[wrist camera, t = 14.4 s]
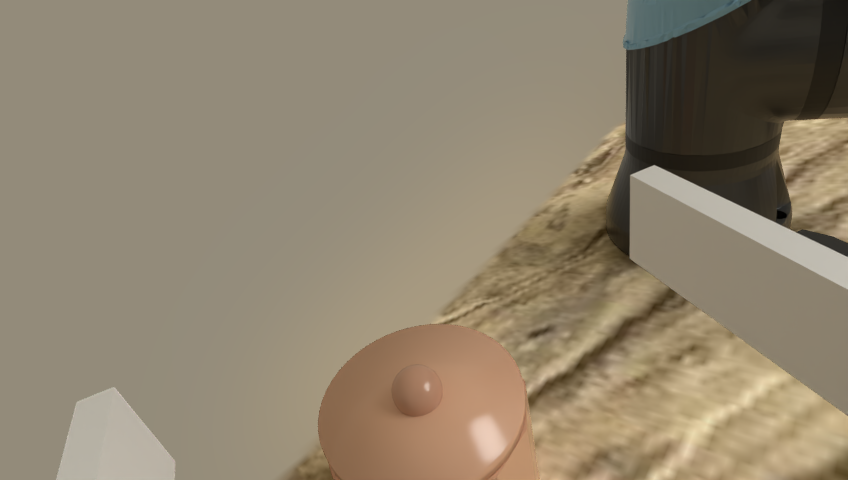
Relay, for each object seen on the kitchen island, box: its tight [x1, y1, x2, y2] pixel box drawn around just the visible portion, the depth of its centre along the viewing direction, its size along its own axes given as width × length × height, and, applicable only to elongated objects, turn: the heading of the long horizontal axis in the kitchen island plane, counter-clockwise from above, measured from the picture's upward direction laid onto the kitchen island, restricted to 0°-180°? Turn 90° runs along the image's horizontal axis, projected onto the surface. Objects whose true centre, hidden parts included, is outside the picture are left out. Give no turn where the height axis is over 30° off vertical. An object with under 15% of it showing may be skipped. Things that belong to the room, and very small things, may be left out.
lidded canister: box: [318, 324, 540, 480], centre depth 27 cm, size 10×10×13 cm
